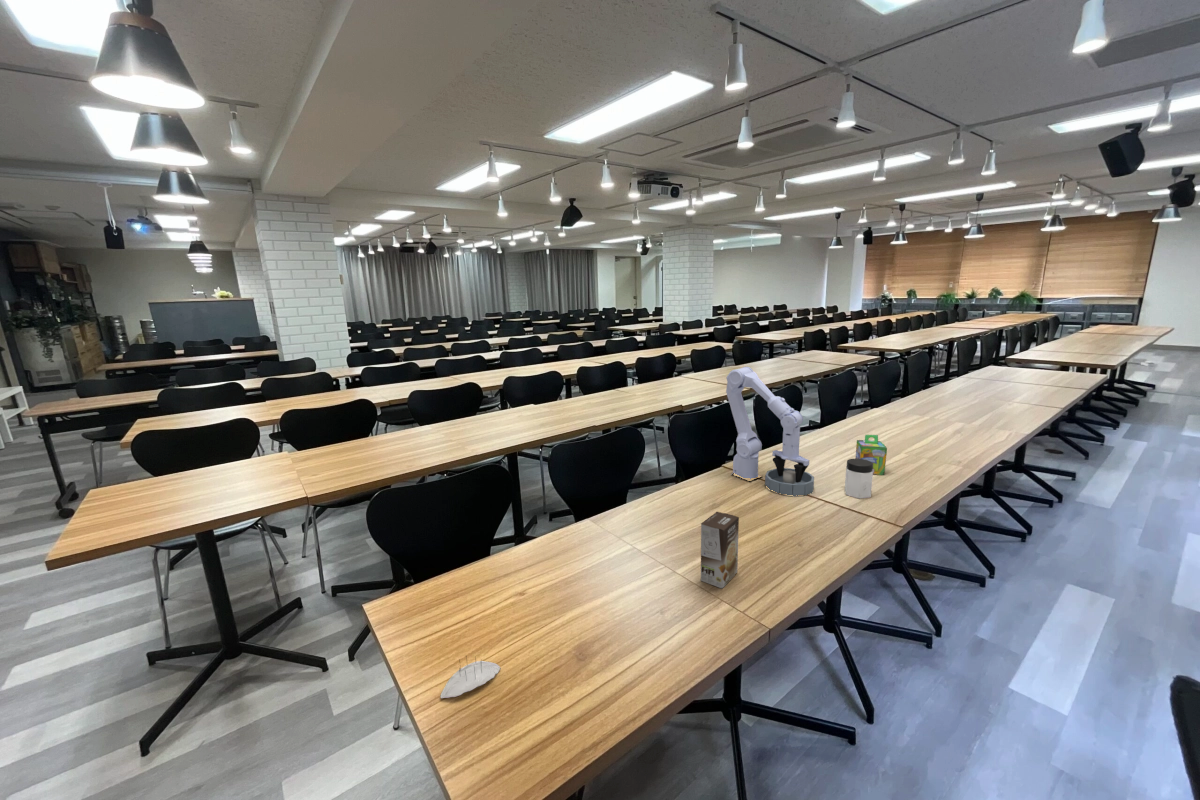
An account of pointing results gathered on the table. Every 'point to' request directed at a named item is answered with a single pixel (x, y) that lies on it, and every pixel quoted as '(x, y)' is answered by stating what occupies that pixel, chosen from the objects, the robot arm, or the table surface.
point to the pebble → (789, 476)
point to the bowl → (795, 489)
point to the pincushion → (469, 678)
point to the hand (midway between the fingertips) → (789, 478)
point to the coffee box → (719, 549)
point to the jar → (858, 478)
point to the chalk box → (872, 453)
